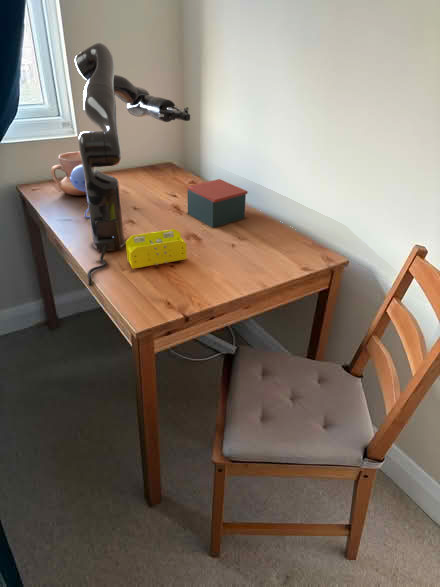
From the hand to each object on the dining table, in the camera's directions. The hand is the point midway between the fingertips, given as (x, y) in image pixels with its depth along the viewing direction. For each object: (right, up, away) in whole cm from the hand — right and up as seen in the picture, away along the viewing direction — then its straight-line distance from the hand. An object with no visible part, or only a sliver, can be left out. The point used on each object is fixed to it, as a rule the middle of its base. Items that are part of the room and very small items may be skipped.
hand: (188, 117), depth 154 cm
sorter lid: (+10, -25, 0) cm, 27 cm away
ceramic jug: (-44, -21, +22) cm, 53 cm away
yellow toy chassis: (-7, -51, -24) cm, 57 cm away
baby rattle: (-34, -34, +2) cm, 48 cm away
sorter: (+9, -32, +5) cm, 34 cm away
